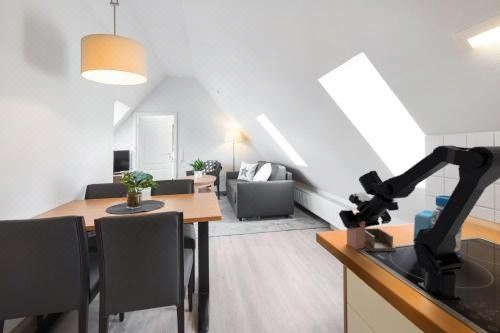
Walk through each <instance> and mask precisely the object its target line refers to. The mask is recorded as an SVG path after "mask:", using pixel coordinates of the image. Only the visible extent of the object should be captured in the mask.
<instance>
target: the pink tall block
mask: <svg viewBox="0 0 500 333" xmlns="http://www.w3.org/2000/svg"><path fill="white" fill-rule="evenodd" d="M351 210H352V209H351ZM352 211H353V213H354V215H356V212H359V211H357V209H353V210H352ZM359 225H360V227H359V228H354V229H348V228H346V245H348V246H350V247H351V248H353V249H355V250H358V249H364V248H366V246H365V228H366V227H365V221H362V222H361V223H360V224H359Z"/></svg>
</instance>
